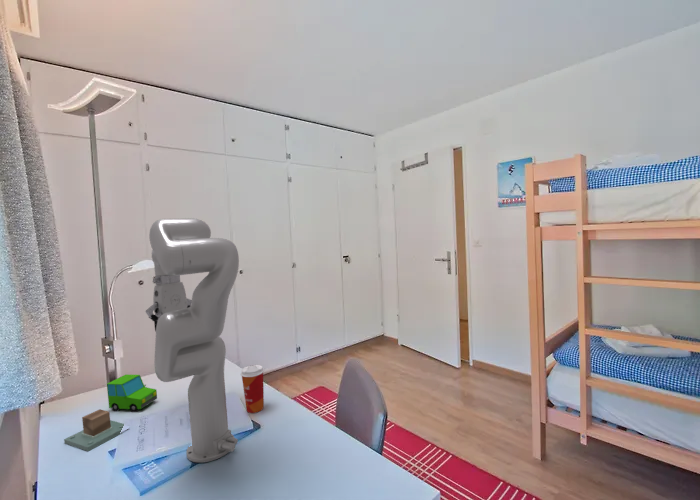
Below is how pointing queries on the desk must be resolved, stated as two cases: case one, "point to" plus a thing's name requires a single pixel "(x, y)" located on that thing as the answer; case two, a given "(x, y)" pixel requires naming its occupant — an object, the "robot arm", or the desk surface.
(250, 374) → the paper cup
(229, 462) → the desk surface
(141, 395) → the toy car
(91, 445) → the baseplate
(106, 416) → the walnut cube
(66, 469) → the desk surface
